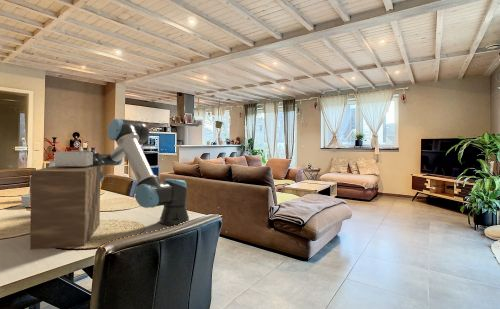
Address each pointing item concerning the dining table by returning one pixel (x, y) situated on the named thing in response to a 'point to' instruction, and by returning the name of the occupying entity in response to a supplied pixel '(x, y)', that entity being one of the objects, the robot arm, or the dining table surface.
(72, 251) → the dining table surface
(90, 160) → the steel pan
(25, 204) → the ramekin
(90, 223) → the walnut cabinet
